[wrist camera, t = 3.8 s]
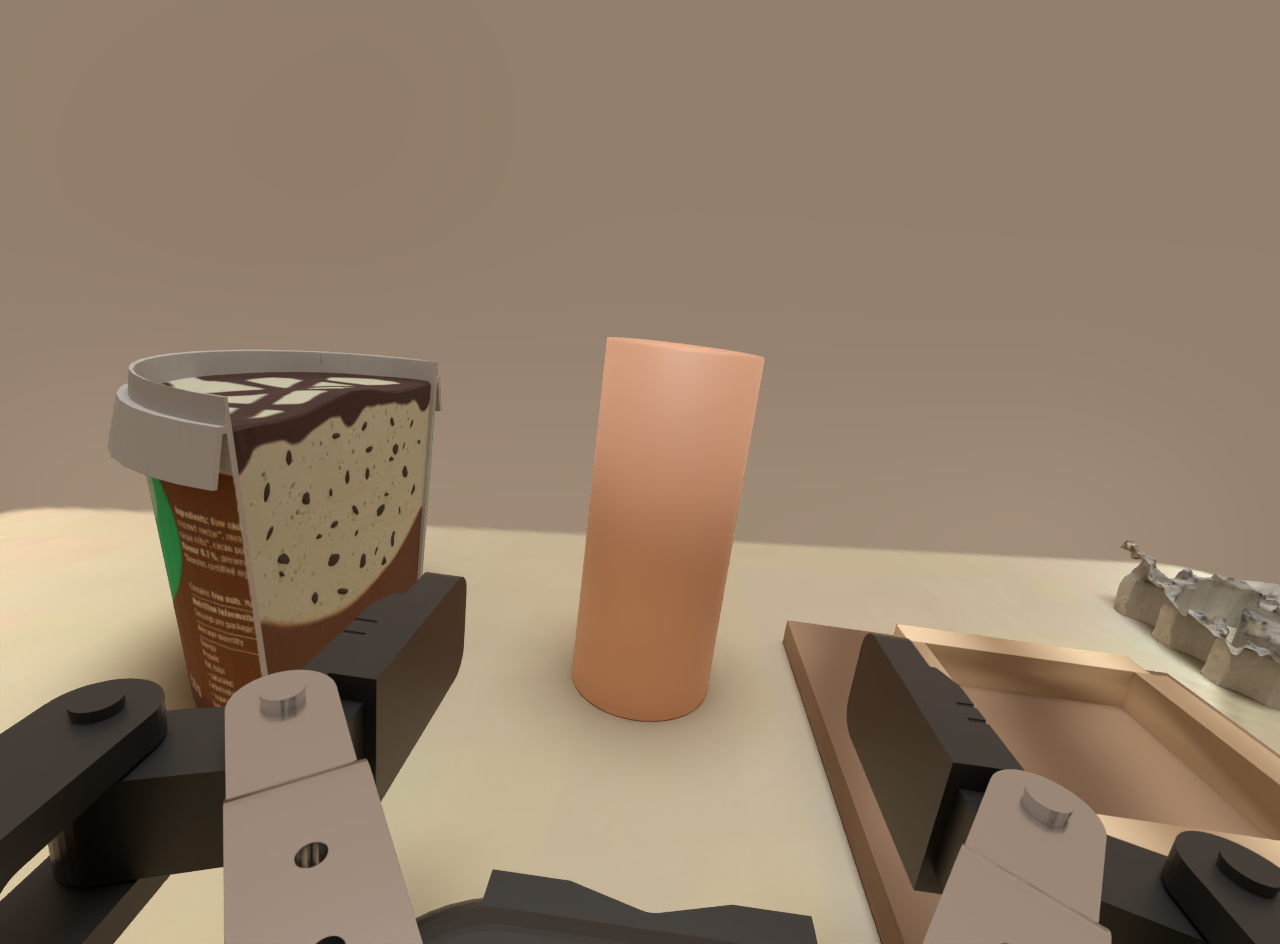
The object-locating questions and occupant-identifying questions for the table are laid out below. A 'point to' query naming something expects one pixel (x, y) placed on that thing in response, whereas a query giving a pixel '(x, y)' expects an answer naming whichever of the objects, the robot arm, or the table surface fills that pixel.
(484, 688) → the table surface
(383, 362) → the food container
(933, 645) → the board
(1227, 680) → the egg carton
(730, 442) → the terracotta pin
